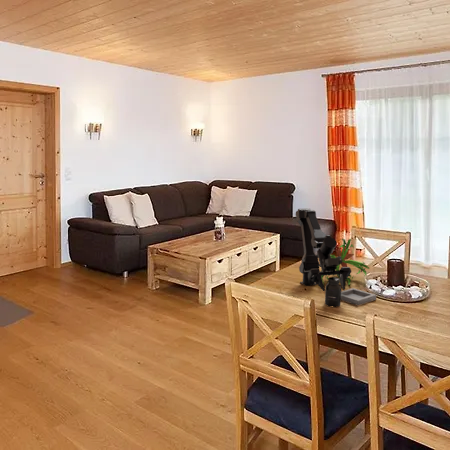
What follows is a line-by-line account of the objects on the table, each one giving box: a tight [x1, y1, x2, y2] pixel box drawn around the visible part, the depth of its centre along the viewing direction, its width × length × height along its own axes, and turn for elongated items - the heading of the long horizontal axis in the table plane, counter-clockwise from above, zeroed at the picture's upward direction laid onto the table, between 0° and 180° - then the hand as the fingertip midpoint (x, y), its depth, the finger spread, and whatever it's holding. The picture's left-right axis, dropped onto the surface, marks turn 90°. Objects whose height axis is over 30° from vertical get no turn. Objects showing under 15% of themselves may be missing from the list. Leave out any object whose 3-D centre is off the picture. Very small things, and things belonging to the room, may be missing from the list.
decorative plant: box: [320, 238, 370, 286], centre depth 233 cm, size 26×25×30 cm
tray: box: [341, 287, 377, 306], centre depth 206 cm, size 13×13×2 cm
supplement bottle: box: [324, 276, 342, 308], centre depth 197 cm, size 7×7×12 cm
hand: (334, 290), depth 196 cm, fingers open, 9 cm apart
